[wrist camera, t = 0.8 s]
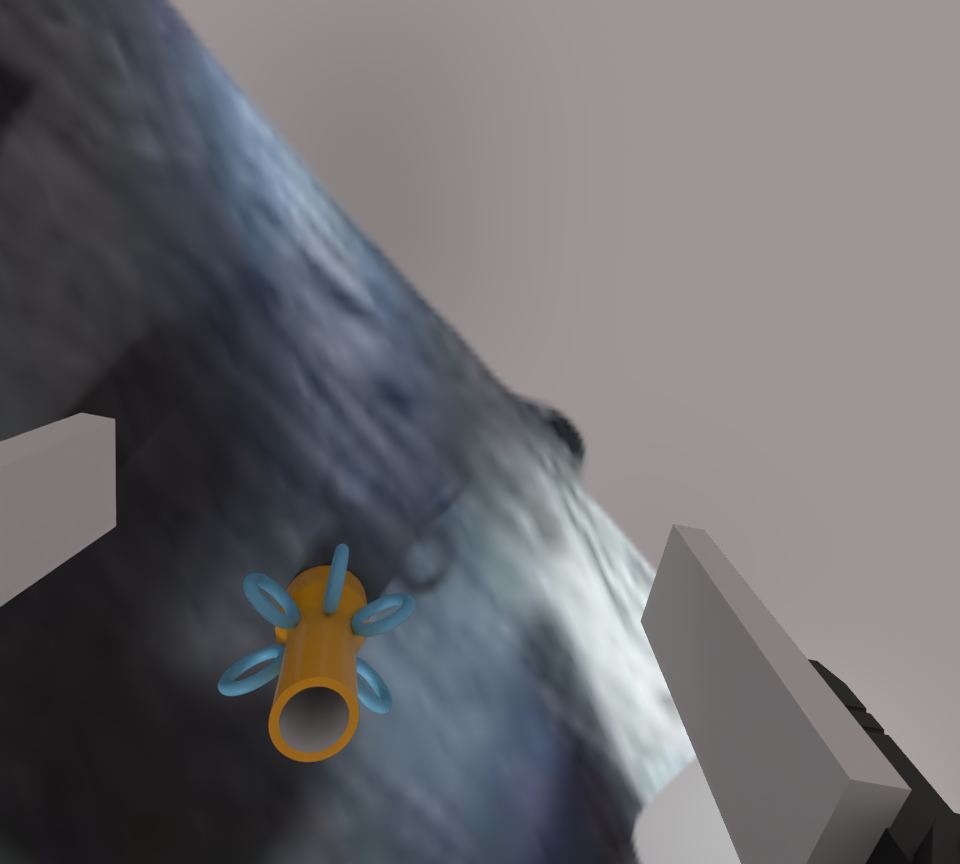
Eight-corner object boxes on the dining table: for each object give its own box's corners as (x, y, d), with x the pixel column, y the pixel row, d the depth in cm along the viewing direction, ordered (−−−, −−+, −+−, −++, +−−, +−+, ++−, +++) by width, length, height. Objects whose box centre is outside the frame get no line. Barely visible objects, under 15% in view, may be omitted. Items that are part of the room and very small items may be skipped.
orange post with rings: (268, 509, 38) (223, 573, 24) (412, 534, 41) (450, 605, 26) (229, 678, 38) (160, 845, 24) (375, 692, 41) (394, 851, 26)
